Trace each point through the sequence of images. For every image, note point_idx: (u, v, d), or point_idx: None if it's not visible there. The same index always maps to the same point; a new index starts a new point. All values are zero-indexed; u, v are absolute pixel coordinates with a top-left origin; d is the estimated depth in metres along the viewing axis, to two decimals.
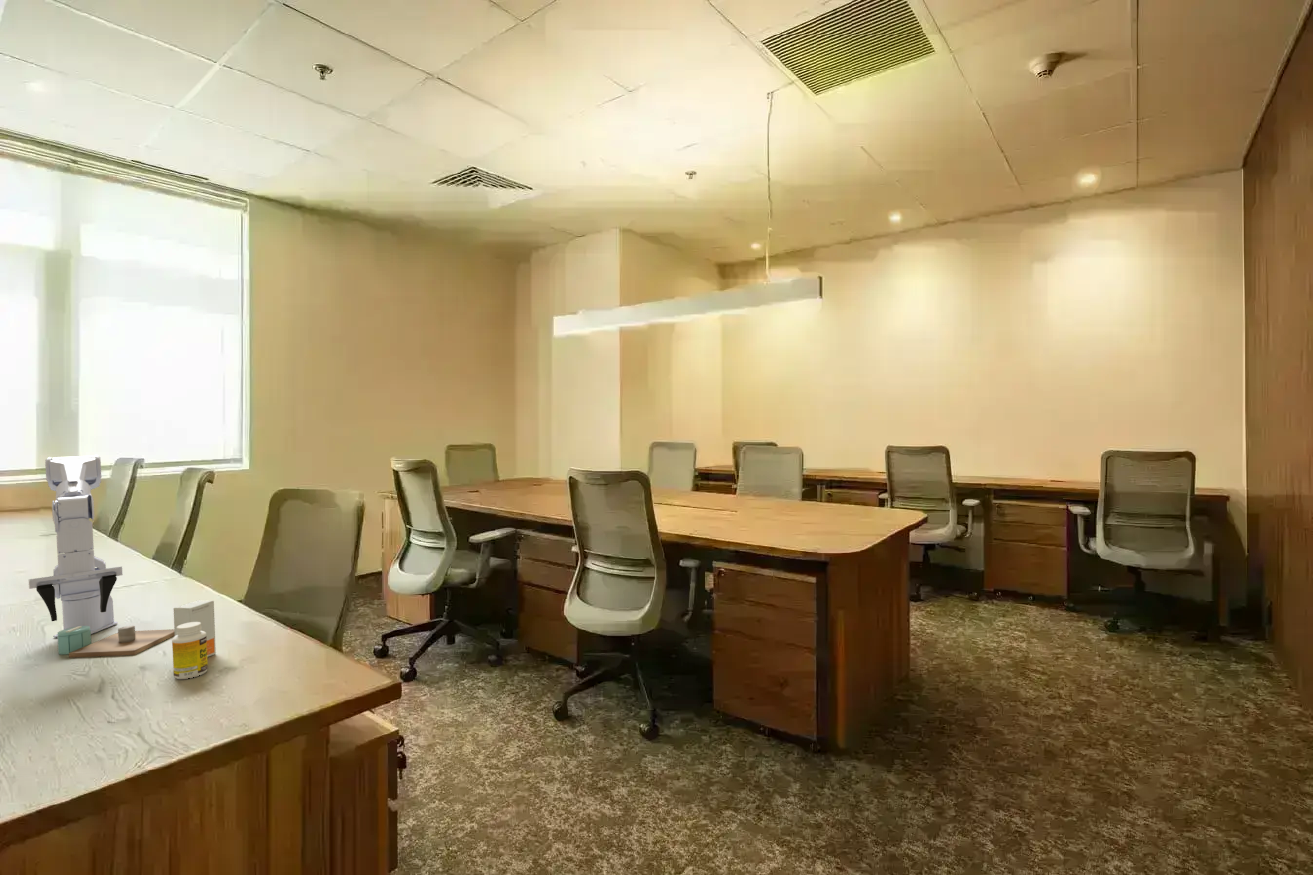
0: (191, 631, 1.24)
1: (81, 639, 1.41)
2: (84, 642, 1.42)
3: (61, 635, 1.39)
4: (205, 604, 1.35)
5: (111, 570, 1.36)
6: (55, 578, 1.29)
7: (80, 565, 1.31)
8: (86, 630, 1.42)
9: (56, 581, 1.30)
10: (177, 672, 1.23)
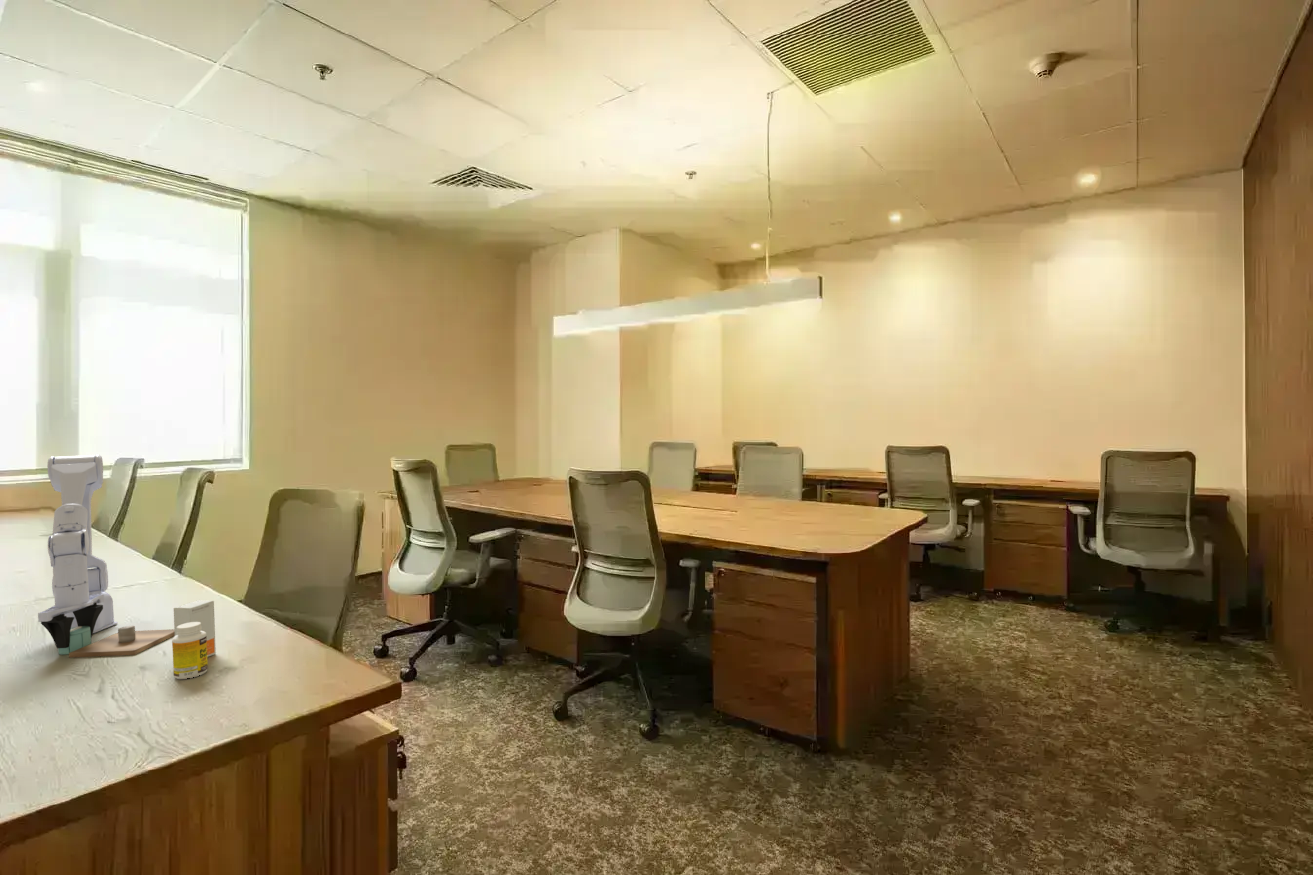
0: (191, 631, 1.24)
1: (81, 639, 1.41)
2: (84, 642, 1.42)
3: None
4: (205, 604, 1.35)
5: (98, 598, 1.47)
6: (67, 609, 1.38)
7: (86, 595, 1.42)
8: (86, 630, 1.42)
9: (61, 612, 1.39)
10: (177, 672, 1.23)
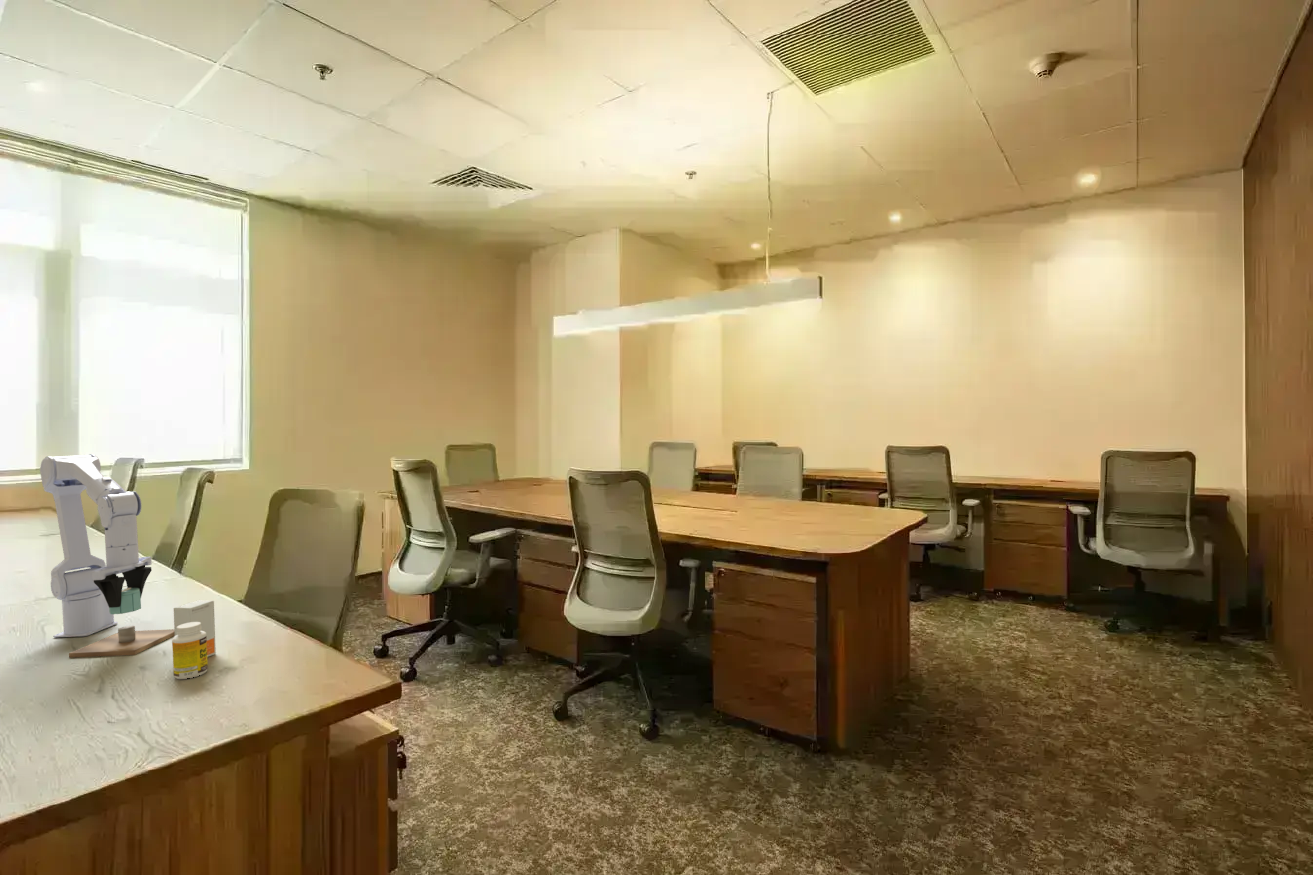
0: (191, 631, 1.24)
1: (132, 599, 1.43)
2: (135, 603, 1.44)
3: None
4: (205, 604, 1.35)
5: (146, 560, 1.49)
6: (119, 569, 1.41)
7: (136, 556, 1.44)
8: (136, 591, 1.44)
9: (113, 572, 1.41)
10: (177, 672, 1.23)
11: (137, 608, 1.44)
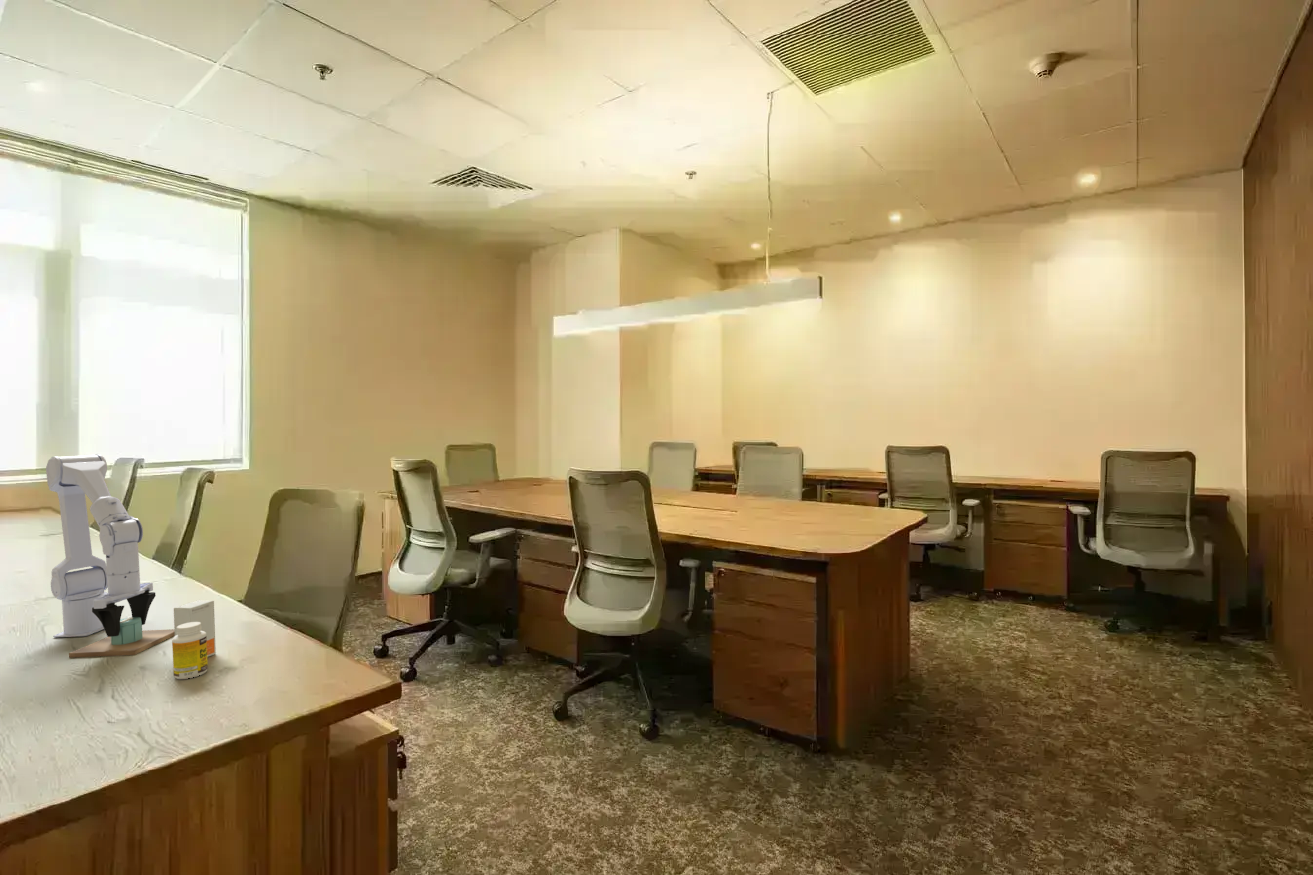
0: (191, 631, 1.24)
1: (133, 629, 1.43)
2: (136, 633, 1.44)
3: None
4: (205, 604, 1.35)
5: (148, 586, 1.50)
6: (121, 597, 1.41)
7: (138, 583, 1.45)
8: (138, 621, 1.45)
9: (114, 600, 1.41)
10: (177, 672, 1.23)
11: (139, 638, 1.45)
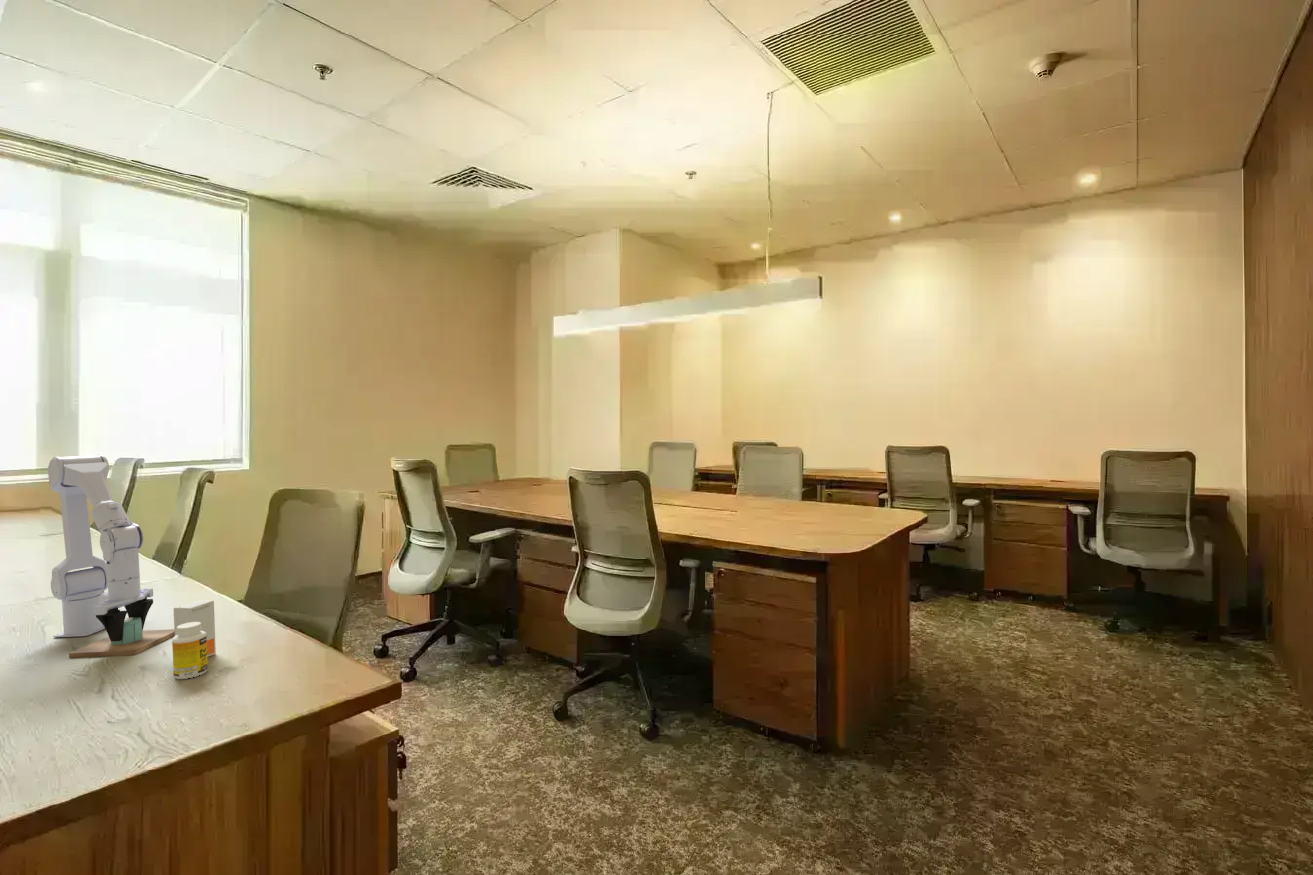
0: (191, 631, 1.24)
1: (133, 629, 1.43)
2: (136, 633, 1.44)
3: None
4: (205, 604, 1.35)
5: (148, 592, 1.50)
6: (121, 603, 1.41)
7: (138, 589, 1.45)
8: (138, 621, 1.45)
9: (115, 606, 1.41)
10: (177, 672, 1.23)
11: (139, 638, 1.45)
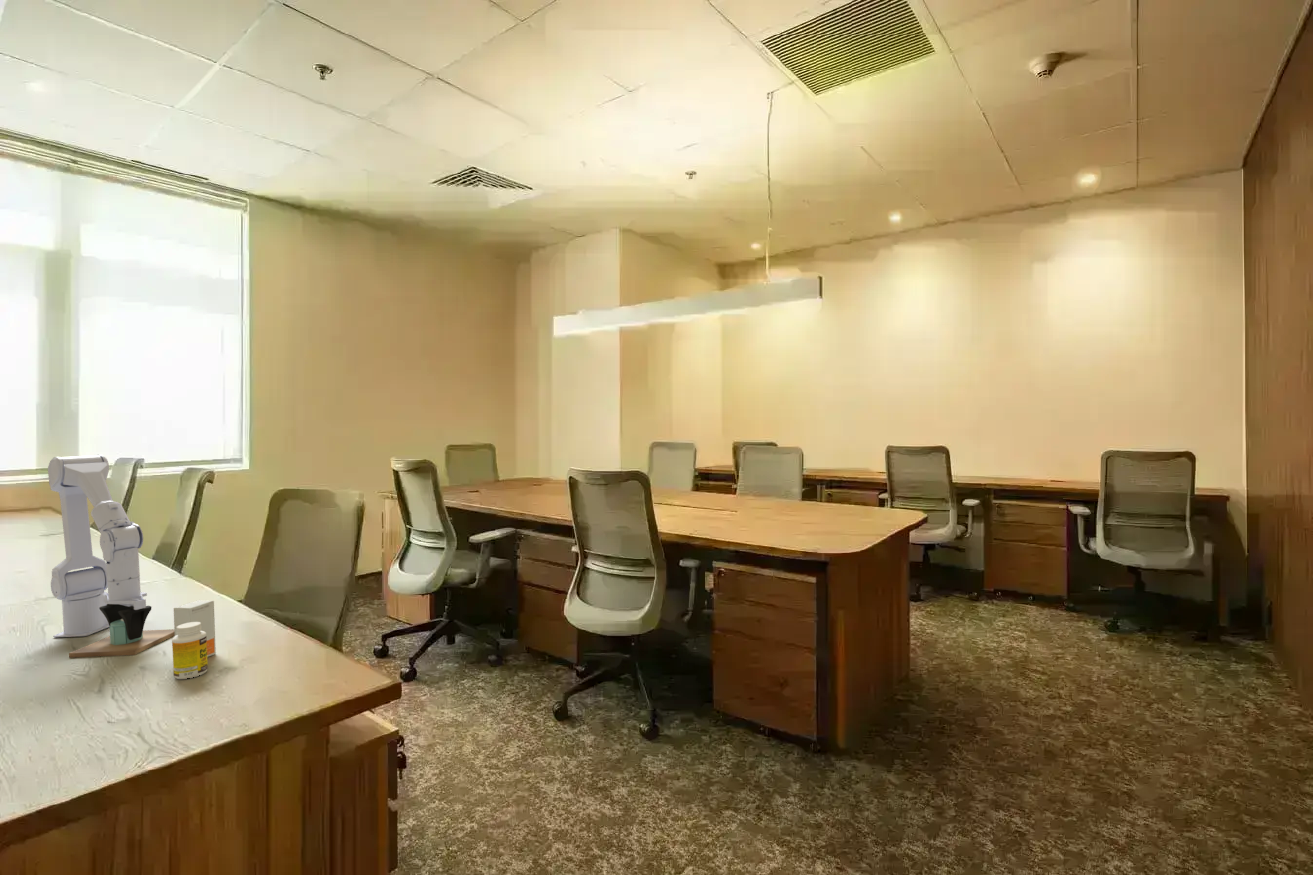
0: (191, 631, 1.24)
1: None
2: None
3: None
4: (205, 604, 1.35)
5: None
6: (142, 598, 1.44)
7: None
8: None
9: None
10: (177, 672, 1.23)
11: None
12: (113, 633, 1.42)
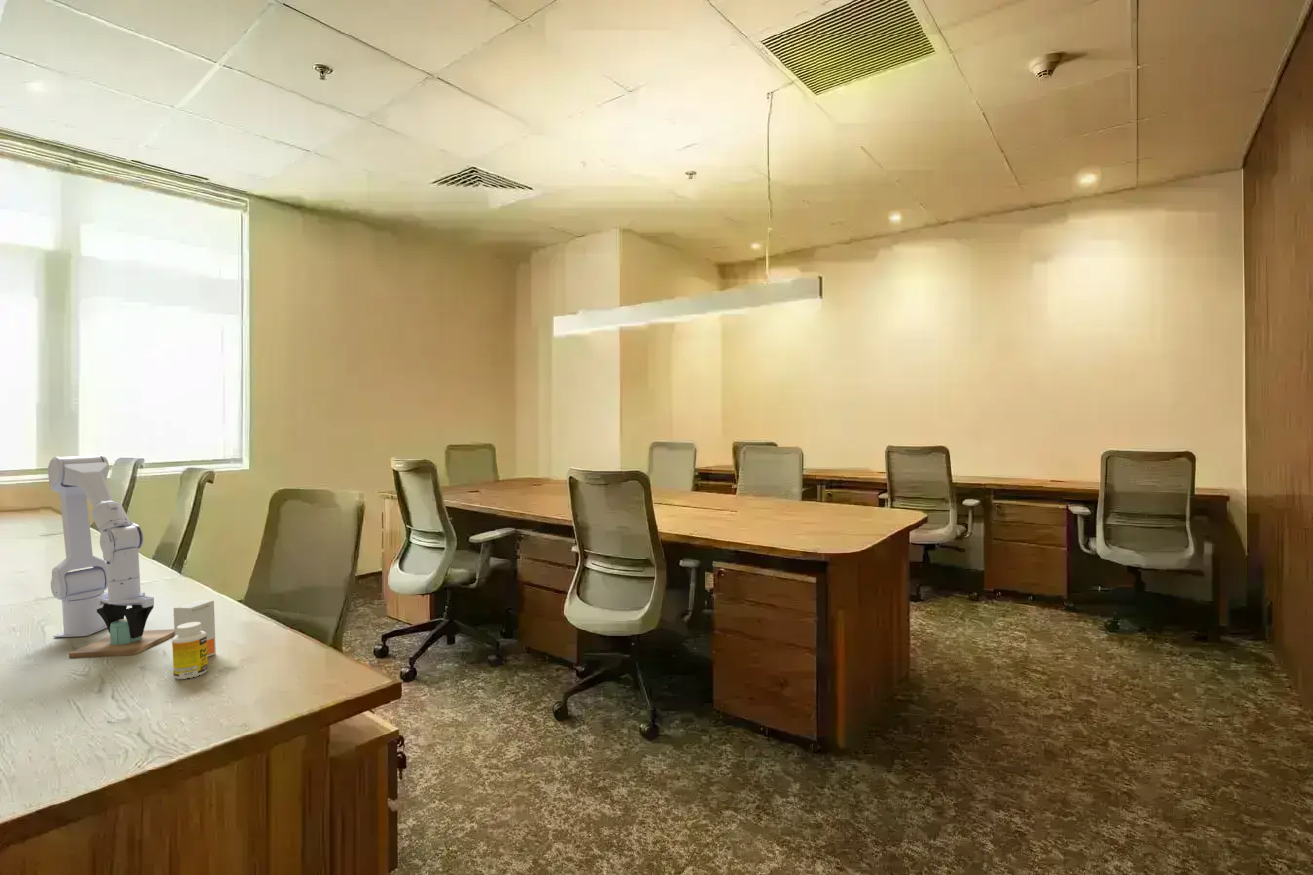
0: (191, 631, 1.24)
1: None
2: None
3: None
4: (205, 604, 1.35)
5: None
6: None
7: None
8: None
9: None
10: (177, 672, 1.23)
11: None
12: (116, 633, 1.42)
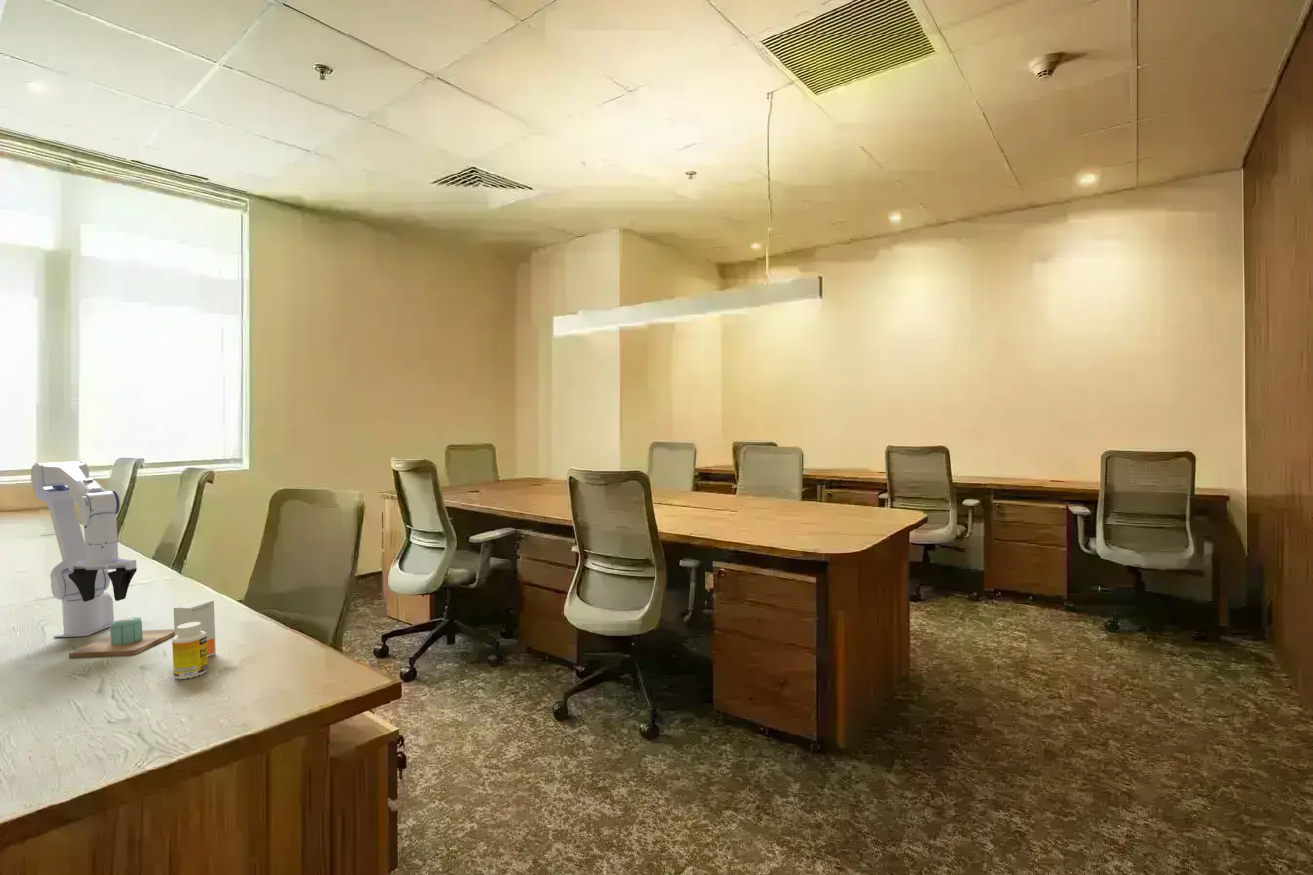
0: (192, 631, 1.24)
1: None
2: None
3: (136, 622, 1.44)
4: (205, 604, 1.35)
5: None
6: None
7: None
8: None
9: None
10: (177, 672, 1.23)
11: None
12: (119, 633, 1.42)
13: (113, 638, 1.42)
